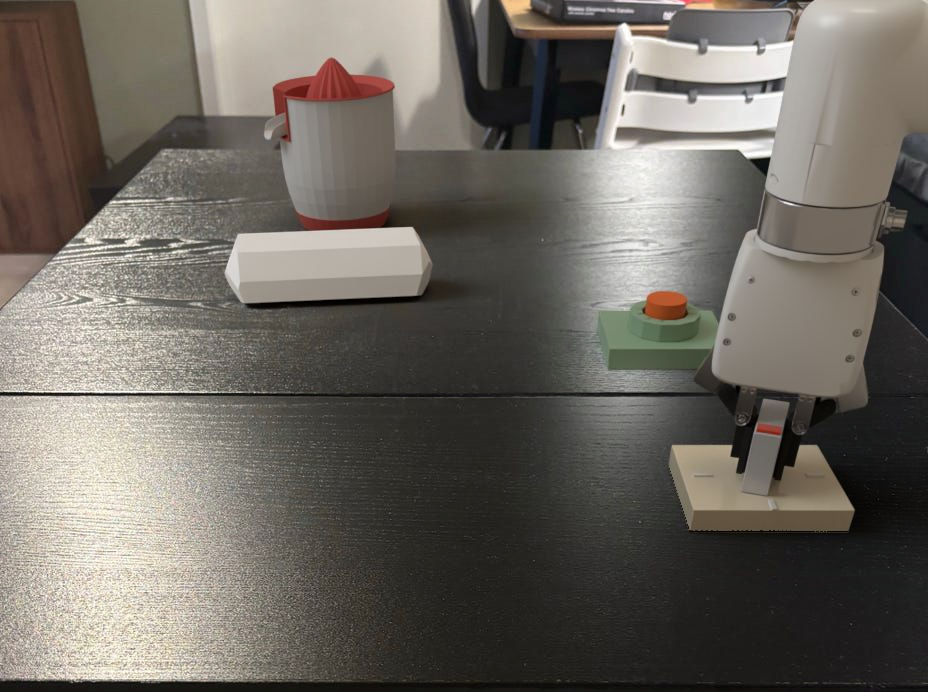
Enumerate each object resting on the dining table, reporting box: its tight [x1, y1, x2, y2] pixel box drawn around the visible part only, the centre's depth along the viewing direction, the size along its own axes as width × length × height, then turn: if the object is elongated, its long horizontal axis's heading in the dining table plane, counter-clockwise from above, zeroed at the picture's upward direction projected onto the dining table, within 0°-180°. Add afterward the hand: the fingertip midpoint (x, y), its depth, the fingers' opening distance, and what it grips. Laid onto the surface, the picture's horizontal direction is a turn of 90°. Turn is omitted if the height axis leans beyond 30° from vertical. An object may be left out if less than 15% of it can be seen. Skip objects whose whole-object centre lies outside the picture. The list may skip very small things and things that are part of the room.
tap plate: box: [668, 444, 856, 533], centre depth 74 cm, size 12×10×2 cm
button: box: [645, 290, 688, 320], centre depth 94 cm, size 4×4×2 cm
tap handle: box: [741, 398, 791, 496], centre depth 72 cm, size 6×2×5 cm, turn 159°
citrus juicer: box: [263, 57, 397, 231], centre depth 123 cm, size 16×17×20 cm
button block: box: [596, 299, 719, 371], centre depth 96 cm, size 12×10×4 cm
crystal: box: [224, 226, 434, 304], centre depth 108 cm, size 7×7×24 cm
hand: (760, 467), depth 73 cm, fingers closed on tap handle, 2 cm apart
